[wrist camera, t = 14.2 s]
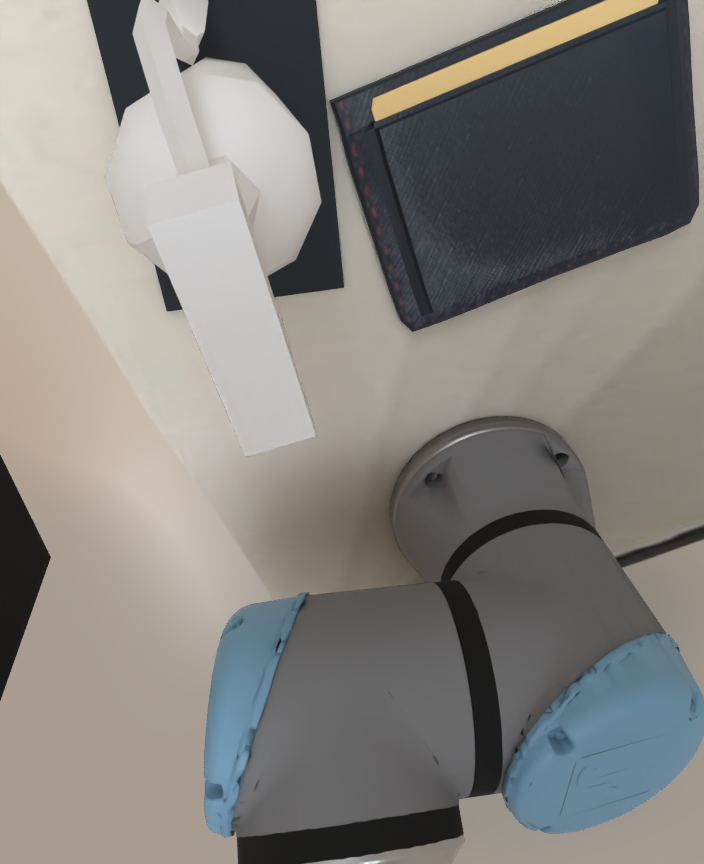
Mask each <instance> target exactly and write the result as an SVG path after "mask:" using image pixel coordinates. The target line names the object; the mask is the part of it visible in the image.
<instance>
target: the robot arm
mask: <svg viewBox="0 0 704 864" xmlns="http://www.w3.org/2000/svg"><path fill="white" fill-rule="evenodd" d="M390 516H391V522H392V526H393V530H394V533H395V537H396V540H397V543H398V545H399V548H400V550H401V551H402V553H403V555H404V556H405V557H406V559H407V560H408V562H409V563H410V564H411V565H412V566H413V567H414V569H415V570H416V571H417V572H418V573H419V574H420V576H421V577H422V578H423V579H424V580H425V581H426V582H427V583H420V584H411V585H402V586H392V587H383V588H374V589H364V590H355V591H345V592H336V593H327V594H317V595H310V594H309V592H303V593H300V594H299V595H298V596H297V597H293V598H286V599H280V600H274V601H268V602H261V603H255V604H251V605H248V606H245V607H243V608H241V609H240V610H239V611H237V612H236V613H235V614H234V615H233V616H232V617H231V619H230V620H229V621H228V623H227V625H226V626H225V628H224V630H223V633H222V636H221V639H220V642H219V646H218V650H217V655H216V659H215V664H214V670H213V675H212V682H211V689H210V696H209V705H208V714H207V724H206V736H205V751H204V776H205V779H206V780H205V797H204V812H205V818H206V823H207V826H208V828H209V829H210V830H211V831H212V832H214V833H217V834H221V835H222V836H223V837H230V836H233V835H234V832H235V831H236V834H237V847H238V864H452V862H453V860H454V859H455V857H456V855H457V854H458V852H459V850H460V849H461V847H462V845H463V844H464V841H465V840H464V834H463V828H462V822H461V817H460V811H459V799H463V798H468V797H476V796H483V795H490V794H496V793H502V795H503V798H504V801H505V804H506V807H507V808H508V809H509V811H510V812H512V813H513V815H514V816H515V818H516V819H517V820H518V821H519V822H520V823H521V824H522V825H524V826H525V827H526V828H529V829H531V830H534V831H537V830H539V829H540V830H541V831H543V832H545V833H549V834H560V833H568V832H575V831H580V830H583V829H586V828H590V827H593V826H596V825H599V824H602V823H605V822H607V821H610V820H612V819H614V818H616V817H618V816H621V815H623V814H625V813H627V812H628V811H631V810H632V809H634V808H635V807H637V806H639V805H640V804H642V803H644V802H645V801H647V800H649V799H650V798H651V797H653V796H654V795H655V794H656V793H658V792H659V791H660V790H662V789H663V788H665V787H666V786H667V785H668V784H669V783H670V782H671V781H672V780H674V779H675V778H676V777H677V776H678V775H679V774H680V772H681V771H682V770H683V769H684V768H685V767H686V766H687V764H688V763H689V762H690V760H691V759H692V758H693V756H694V755H695V753H696V751H697V749H698V747H699V745H700V743H701V741H702V739H703V736H704V698H703V695H702V693H701V691H700V689H699V687H698V685H697V683H696V681H695V680H694V678H693V676H692V674H691V672H690V671H689V669H688V667H687V665H686V663H685V662H684V660H683V658H682V656H681V654H680V653H679V652H680V651H679V648H678V645H677V643H676V642H675V641H674V639H672V638H671V637H670V636H669V635H667V634H666V632H665V631H664V629H663V628H662V626H661V625H660V624H659V622H658V621H657V619H656V618H655V616H654V615H653V613H652V612H651V610H650V609H649V607H648V606H647V604H646V603H645V601H644V600H643V599H642V597H641V596H640V594H639V593H638V591H637V590H636V588H635V587H634V585H633V584H632V582H631V581H630V579H629V578H628V577H627V575H626V574H625V572H624V571H623V569H622V568H621V566H620V565H619V563H618V562H617V560H616V559H615V557H614V556H613V554H612V553H611V551H610V550H609V549H608V547H607V546H606V544H605V543H604V542H603V540H602V539H601V537H600V536H599V534H598V532H597V531H596V528H595V522H594V516H593V511H592V505H591V500H590V494H589V489H588V483H587V479H586V475H585V472H584V469H583V467H582V465H581V462H580V461H579V459H578V458H577V456H576V455H575V453H574V452H573V451H572V449H571V448H570V447H569V445H568V444H567V443H566V442H565V440H564V439H563V438H562V437H561V436H560V435H558V434H557V433H556V432H555V431H553V430H552V429H550V428H548V427H546V426H545V425H543V424H540V423H537V422H535V421H531V420H528V419H523V418H516V417H493V418H486V419H480V420H476V421H472V422H469V423H466V424H463V425H460V426H457V427H455V428H453V429H451V430H449V431H447V432H445V433H443V434H441V435H440V436H438V437H437V438H435V439H434V440H432V441H431V442H429V443H428V444H427V445H426V446H424V447H423V448H422V449H421V450H420V451H419V452H418V453H417V454H416V455H415V456H414V457H413V458H412V459H411V460H410V461H409V463H408V464H407V465H406V467H405V468H404V469H403V471H402V473H401V474H400V476H399V478H398V480H397V482H396V484H395V487H394V490H393V494H392V498H391V505H390ZM50 558H51V557H50V555H49V553H48V551H47V549H46V547H45V545H44V543H43V541H42V539H41V537H40V534H39V532H38V530H37V528H36V526H35V524H34V522H33V520H32V518H31V516H30V514H29V512H28V510H27V508H26V506H25V504H24V502H23V500H22V498H21V496H20V494H19V492H18V490H17V488H16V486H15V484H14V482H13V480H12V478H11V476H10V474H9V471H8V469H7V467H6V465H5V463H4V461H3V459H2V457H1V455H0V700H1V697H2V694H3V691H4V689H5V686H6V683H7V680H8V677H9V675H10V672H11V669H12V666H13V663H14V660H15V657H16V655H17V652H18V649H19V646H20V643H21V640H22V637H23V635H24V632H25V629H26V626H27V623H28V620H29V618H30V615H31V612H32V609H33V606H34V603H35V600H36V598H37V595H38V592H39V589H40V586H41V583H42V580H43V578H44V575H45V572H46V569H47V567H48V564H49V561H50Z"/></svg>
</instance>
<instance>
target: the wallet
mask: <svg viewBox="0 0 704 864" xmlns="http://www.w3.org/2000/svg"><path fill="white" fill-rule="evenodd" d="M330 103H331V106H332V108H333V111H334V114H335V117H336V120H337V123H338V126H339V129H340V132H341V136H342V141H343V145H344V149H345V153H346V157H347V161H348V164H349V168H350V171H351V174H352V177H353V180H354V183H355V186H356V189H357V192H358V195H359V199H360V202H361V205H362V208H363V211H364V214H365V217H366V220H367V223H368V226H369V230H370V233H371V236H372V239H373V242H374V245H375V248H376V251H377V254H378V257H379V260H380V263H381V266H382V269H383V272H384V275H385V278H386V282H387V285H388V288H389V291H390V294H391V296H392V299H393V302H394V304H395V307H396V310H397V312H398V315H399V317H400V320H401V321H402V322H403V323H404V324H405V325H406V326H407V327H408V328H409V329H410V330H411V331H412V332H414V331H416V330H419V329H422V328H425V327H428V326H431V325H434V324H436V323H439V322H442V321H445V320H447V319H450V318H452V317H455V316H457V315H460V314H463V313H465V312H468V311H470V310H473V309H475V308H477V307H480V306H482V305H485V304H487V303H490V302H492V301H495V300H497V299H500V298H502V297H504V296H507V295H509V294H512V293H514V292H517V291H519V290H522V289H524V288H527V287H529V286H531V285H534V284H536V283H539V282H541V281H544V280H546V279H549V278H551V277H554V276H556V275H559V274H562V273H564V272H567V271H570V270H572V269H575V268H578V267H580V266H583V265H586V264H588V263H591V262H594V261H596V260H599V259H602V258H604V257H607V256H610V255H612V254H615V253H618V252H620V251H623V250H626V249H628V248H631V247H634V246H636V245H639V244H642V243H645V242H648V241H650V240H653V239H656V238H659V237H662V236H664V235H667V234H669V233H671V232H673V231H675V230H677V229H679V228H681V227H683V226H685V225H687V224H689V223H690V222H691V220H692V218H693V215H694V213H695V211H696V209H697V207H698V205H699V173H698V160H697V146H696V133H695V120H694V106H693V91H692V69H691V48H690V27H689V12H688V0H566V1H564V2H562V3H559V4H557V5H555V6H552V7H550V8H547V9H545V10H543V11H540V12H538V13H536V14H533V15H531V16H529V17H526V18H524V19H522V20H519V21H517V22H514V23H512V24H510V25H507V26H505V27H503V28H500V29H498V30H496V31H493V32H491V33H489V34H486V35H484V36H481V37H479V38H477V39H474V40H472V41H470V42H467V43H465V44H463V45H460V46H458V47H456V48H453V49H451V50H448V51H446V52H444V53H441V54H439V55H437V56H434V57H432V58H430V59H427V60H425V61H423V62H420V63H418V64H415V65H413V66H411V67H408V68H406V69H404V70H401V71H399V72H397V73H394V74H392V75H389V76H387V77H385V78H382V79H380V80H378V81H375V82H373V83H371V84H368V85H366V86H363V87H361V88H359V89H356V90H354V91H352V92H349V93H347V94H345V95H342V96H340V97H337V98H335V99H333V100H330Z"/></svg>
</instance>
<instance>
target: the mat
mask: <svg viewBox="0 0 704 864" xmlns="http://www.w3.org/2000/svg"><path fill="white" fill-rule="evenodd" d="M140 1H141V0H87V2H88V6H89V10H90V14H91V17H92V21H93V25H94V29H95V33H96V37H97V41H98V45H99V49H100V53H101V56H102V60H103V64H104V68H105V72H106V76H107V80H108V84H109V88H110V92H111V95H112V99H113V103H114V107H115V111H116V115H117V119H118V123H119V127H120V125H121V122H122V118H123V115H124V112H125V108H127V107H129V106H130V105H132V104H133V103H135V102H136V101H138V100H139V99H141V98H142V97H144V96H146V95H147V94H149V93H150V91H149V87H148V84H147V81H146V77H145V74H144V71H143V67H142V64H141V61H140V57H139V54H138V51H137V47H136V44H135V41H134V37H133V34H132V33H133V29H134V25H135V21H136V16H137V12H138V8H139V5H140ZM155 1H156V2H158V3H159V0H155ZM198 47H199V53H198V55H197V57H196V60H195V62H194V64H196V63H197V62H199V61H200V60H202V59H204V58H205V57H207V58H213V59H220V60H226V61H232V62H239V63H245V64H247V65H248V66H249V68H250V69H251V70H252V71H253V72H254V73H255V74H256V75H257V76H258V77H259V78H260V79H261V80H262V81H263V82H264V83H265V84H266V85H267V86H268V87H269V88H270V89H271V90H272V91H273V92H274V93H275V94H276V95H277V96H278V98H279V99H280V100H281V101H282V102H283V104H284V105H285V106H286V107H287V108H288V110H289V111H290V112H291V113H292V114H293V116H294V117H295V118H296V119H297V121H298V122H299V123H300V124H301V125H302V127H303V128H304V129H305V130H306V131H307V133H308V134H309V138H310V143H311V149H312V154H313V159H314V165H315V170H316V175H317V181H318V186H319V192H320V197H321V204H320V206H319V209H318V211H317V213H316V215H315V218H314V220H313V222H312V224H311V227H310V229H309V231H308V233H307V236H306V238H305V240H304V242H303V245H302V247H301V249H300V251H299V254H298V256H297V258H296V260H295V261H293V262H291V263H289V264H288V265H286V266H284V267H282V268H281V269H279V270H277V271H276V272H274V273H272V274H270V275H269V276H267V277H268V280H269V283H270V286H271V289H272V292H273V296H274V297H278V296H285V295H293V294H300V293H308V292H315V291H322V290H330V289H337V288H344V282H343V272H342V262H341V252H340V242H339V232H338V222H337V212H336V201H335V191H334V181H333V171H332V161H331V151H330V141H329V131H328V120H327V110H326V100H325V90H324V80H323V70H322V60H321V50H320V40H319V29H318V19H317V9H316V0H208V9H207V17H206V25H205V32H204V34H203V37H202V39H201V41H200V44H199V46H198ZM176 60H177V64H178V67H179V70H180V73H181V72H183V71H185V70H186V69H188V68H189V67H191V66H192V65H190V64H188V63H186V62H184V61H181V60H179V59H177V58H176ZM194 64H193V65H194ZM155 267H156V271H157V275H158V279H159V283H160V287H161V290H162V294H163V298H164V302H165V306H166V310H167V311H174V310H182V306H181V304H180V301H179V299H178V297H177V294H176V292H175V290H174V287H173V285H172V283H171V280H170V278H169V276H168V274H167V273H166V272H164V271H163V270H162V269H160V268H159V267H158V266H157V265H155Z"/></svg>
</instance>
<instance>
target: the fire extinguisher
mask: <svg viewBox="0 0 704 864" xmlns="http://www.w3.org/2000/svg"><path fill="white" fill-rule="evenodd" d="M207 9H208V0H159V3H158V2H156V1H155V0H141V1H140V5H139V8H138V12H137V16H136V21H135V25H134V29H133V33H132V34H133V37H134V41H135V44H136V47H137V51H138V54H139V57H140V61H141V64H142V67H143V71H144V74H145V77H146V81H147V84H148V87H149V91H150V93H149V94H147V95H146V96H144V97H142V98H141V99H139V100H138V101H136V102H135V103H133V104H132V105H130V106H129V107H127V108H125V112H124V115H123V118H122V122H121V125H120V128H119V131H118V135H117V138H116V141H115V145H114V148H113V151H112V154H111V158H110V161H109V164H108V167H107V171H106V174H105V178H106V181H107V184H108V187H109V190H110V193H111V195H112V198H113V201H114V204H115V207H116V210H117V213H118V216H119V219H120V221H121V224H122V227H123V230H124V233H125V236H126V239H127V242H128V243H129V244H130V245H131V246H132V247H134V248H135V249H136V250H138V251H139V252H140V253H141V254H143V255H144V256H145V257H146V258H148V259H149V260H150V261H152V262H153V263H154V264H155V265H157V266H158V267H159V268H160V269H162V270H163V271H164V272H166V273H167V274H168V276H169V278H170V280H171V283H172V285H173V287H174V290H175V292H176V294H177V297H178V299H179V301H180V304H181V306H182V309H183V311H184V313H185V316H186V318H187V320H188V323H189V325H190V327H191V330H192V332H193V334H194V337H195V339H196V341H197V344H198V346H199V349H200V351H201V353H202V356H203V358H204V360H205V363H206V365H207V367H208V370H209V372H210V374H211V377H212V379H213V382H214V384H215V386H216V389H217V391H218V393H219V396H220V398H221V400H222V403H223V405H224V407H225V410H226V412H227V415H228V417H229V419H230V422H231V424H232V426H233V429H234V431H235V433H236V436H237V438H238V440H239V443H240V445H241V448H242V450H243V452H244V455H245V457H248V456H252V455H255V454H258V453H262V452H265V451H269V450H272V449H275V448H279V447H282V446H285V445H289V444H292V443H296V442H299V441H302V440H306V439H309V438H313V437H316V432H315V427H314V423H313V418H312V415H311V412H310V409H309V406H308V403H307V400H306V396H305V393H304V390H303V387H302V384H301V381H300V378H299V374H298V371H297V368H296V365H295V362H294V359H293V355H292V352H291V349H290V346H289V343H288V340H287V336H286V332H285V328H284V324H283V320H282V318H280V315H279V311H278V308H277V305H276V302H275V299H274V296H273V292H272V289H271V286H270V283H269V280H268V277H267V276H269V275H270V274H272V273H274V272H276V271H277V270H279V269H281V268H282V267H284V266H286V265H288V264H289V263H291V262H293V261H295V260H296V258H297V256H298V254H299V251H300V249H301V247H302V245H303V242H304V240H305V238H306V236H307V233H308V231H309V229H310V227H311V224H312V222H313V220H314V218H315V215H316V213H317V211H318V209H319V206H320V204H321V197H320V192H319V186H318V181H317V175H316V170H315V165H314V159H313V154H312V149H311V143H310V138H309V134H308V133H307V131H306V130H305V129H304V128H303V127H302V125H301V124H300V123H299V122H298V121H297V119H296V118H295V117H294V116H293V114H292V113H291V112H290V111H289V110H288V108H287V107H286V106H285V105H284V104H283V102H282V101H281V100H280V99H279V98H278V96H277V95H276V94H275V93H274V92H273V91H272V90H271V89H270V88H269V87H268V86H267V85H266V84H265V83H264V82H263V81H262V80H261V79H260V78H259V77H258V76H257V75H256V74H255V73H254V72H253V71H252V70H251V69H250V68H249V66H248V65H247V64H245V63H239V62H232V61H226V60H220V59H213V58H207V57H205V58H204V59H202V60H200V61H199V62H197V63H196V64H194V62H195V60H196V57H197V55H198V53H199V47H198V46H199V44H200V41H201V39H202V37H203V34H204V32H205V25H206V17H207ZM176 58H177V59H179V60H181V61H184V62H186V63H188V64H190V65H192V66H191V67H189V68H188V69H186V70H185V71H183V72H181V73H180V70H179V67H178V64H177V60H176ZM193 64H194V65H193Z"/></svg>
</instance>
